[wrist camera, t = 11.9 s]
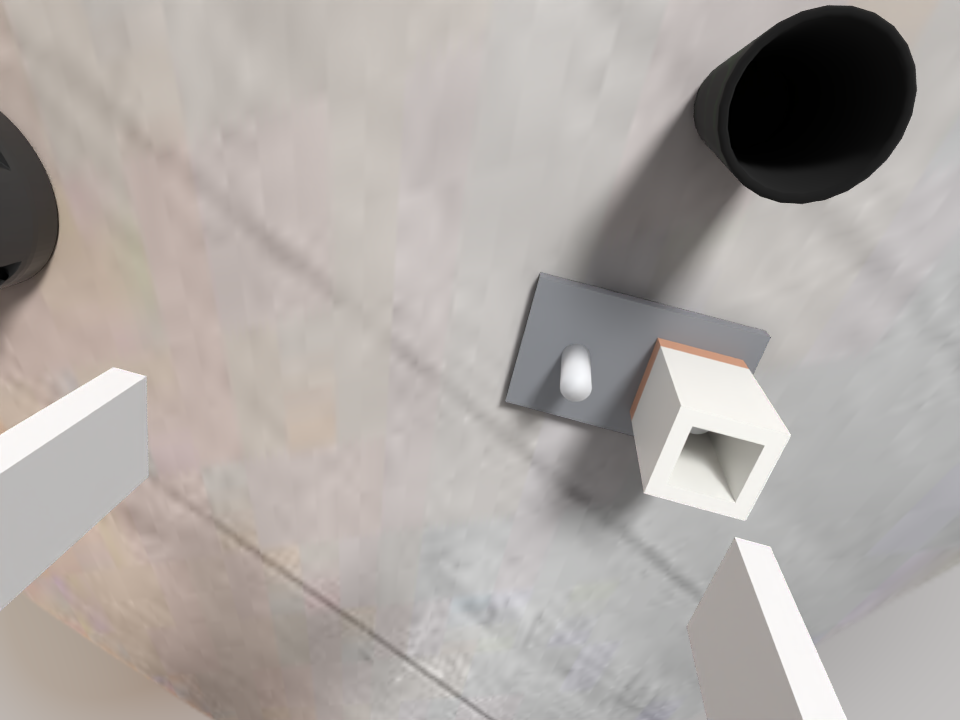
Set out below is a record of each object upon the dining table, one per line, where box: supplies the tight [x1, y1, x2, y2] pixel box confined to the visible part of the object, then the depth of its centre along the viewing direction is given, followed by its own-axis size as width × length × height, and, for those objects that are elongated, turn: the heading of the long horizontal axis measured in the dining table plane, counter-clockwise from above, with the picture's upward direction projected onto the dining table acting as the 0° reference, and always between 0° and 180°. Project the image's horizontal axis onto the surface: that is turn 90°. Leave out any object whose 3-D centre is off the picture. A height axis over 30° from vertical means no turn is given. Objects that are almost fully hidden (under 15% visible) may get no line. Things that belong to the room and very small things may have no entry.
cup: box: [694, 5, 917, 204], centre depth 30 cm, size 8×8×12 cm
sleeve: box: [630, 338, 791, 521], centre depth 38 cm, size 6×6×10 cm
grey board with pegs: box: [505, 273, 771, 436], centre depth 41 cm, size 16×10×6 cm, turn 77°
